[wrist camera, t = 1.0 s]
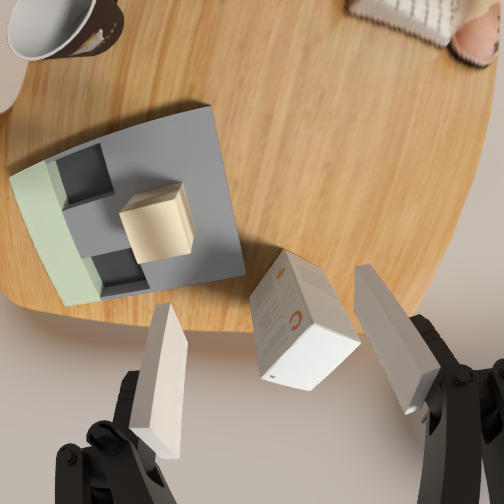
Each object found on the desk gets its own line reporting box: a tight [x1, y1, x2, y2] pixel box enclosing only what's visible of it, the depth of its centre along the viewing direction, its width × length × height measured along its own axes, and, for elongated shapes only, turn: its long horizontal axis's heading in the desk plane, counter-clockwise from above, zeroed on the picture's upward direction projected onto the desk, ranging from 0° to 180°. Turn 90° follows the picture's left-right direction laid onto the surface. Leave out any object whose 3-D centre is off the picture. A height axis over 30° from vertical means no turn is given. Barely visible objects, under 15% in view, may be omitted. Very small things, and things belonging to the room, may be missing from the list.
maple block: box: [119, 182, 195, 264], centre depth 27 cm, size 5×5×5 cm
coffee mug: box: [7, 0, 124, 61], centre depth 17 cm, size 12×9×10 cm
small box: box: [249, 249, 361, 391], centre depth 32 cm, size 8×6×13 cm
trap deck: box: [9, 106, 246, 306], centre depth 30 cm, size 24×18×2 cm
